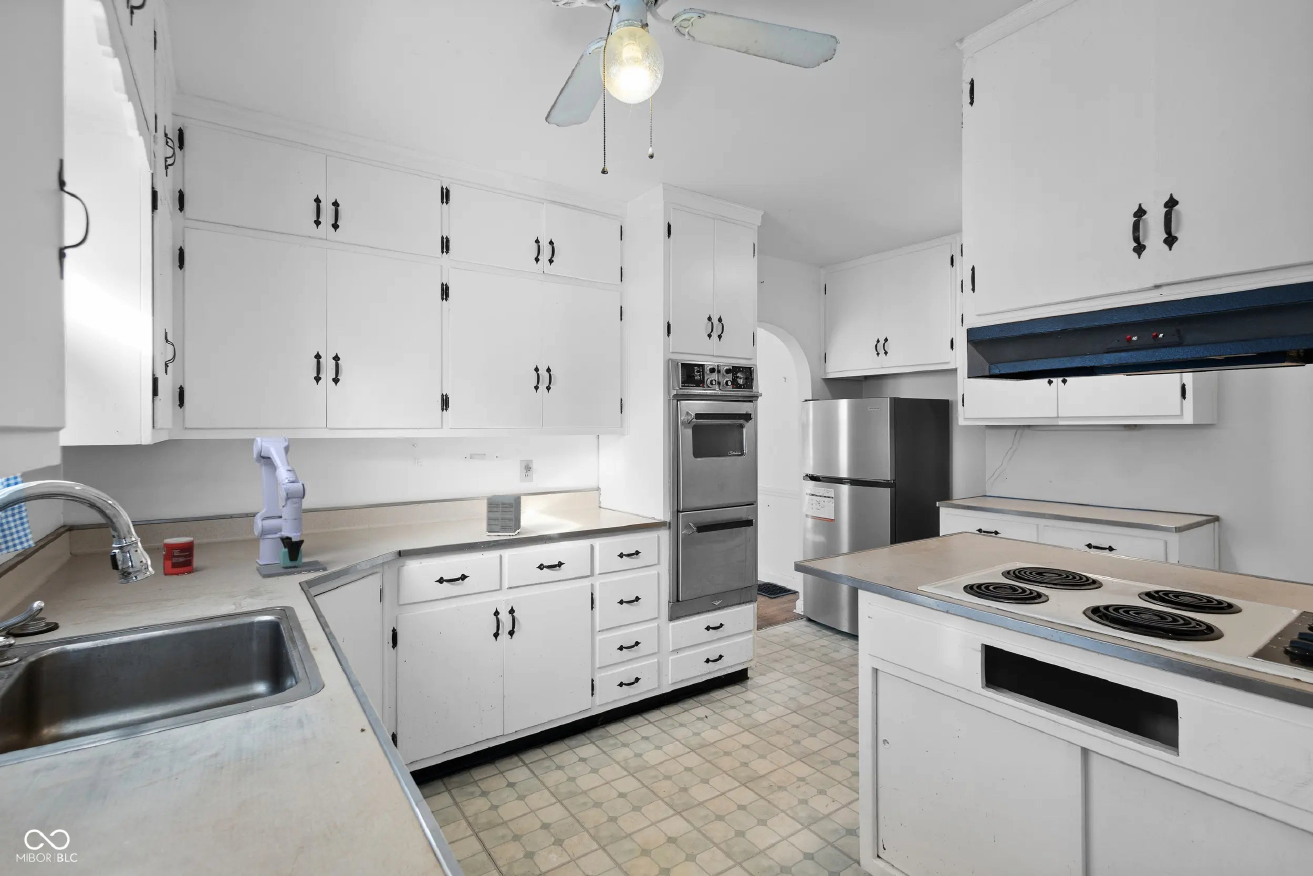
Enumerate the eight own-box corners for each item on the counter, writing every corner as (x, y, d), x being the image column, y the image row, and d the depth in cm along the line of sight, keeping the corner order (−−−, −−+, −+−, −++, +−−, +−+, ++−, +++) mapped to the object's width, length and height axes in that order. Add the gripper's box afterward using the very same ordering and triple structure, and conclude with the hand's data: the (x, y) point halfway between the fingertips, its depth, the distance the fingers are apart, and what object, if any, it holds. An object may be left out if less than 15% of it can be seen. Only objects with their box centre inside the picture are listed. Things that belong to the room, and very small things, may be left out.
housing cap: (279, 563, 204) (279, 548, 204) (298, 561, 207) (298, 547, 207) (282, 566, 200) (282, 551, 200) (302, 564, 203) (302, 549, 203)
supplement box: (493, 531, 292) (493, 494, 292) (521, 531, 292) (521, 495, 292) (485, 536, 279) (486, 497, 279) (514, 536, 279) (515, 497, 279)
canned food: (176, 570, 202) (176, 537, 202) (199, 571, 202) (200, 537, 202) (156, 575, 194) (156, 541, 194) (180, 576, 194) (181, 541, 194)
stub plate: (256, 570, 203) (256, 559, 203) (317, 563, 215) (317, 553, 215) (262, 578, 193) (263, 566, 193) (326, 570, 204) (326, 559, 204)
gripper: (274, 517, 207) (274, 557, 207) (282, 522, 196) (281, 564, 196) (298, 515, 211) (297, 555, 211) (307, 520, 200) (306, 562, 200)
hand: (291, 559), depth 204 cm, fingers closed on housing cap, 5 cm apart
